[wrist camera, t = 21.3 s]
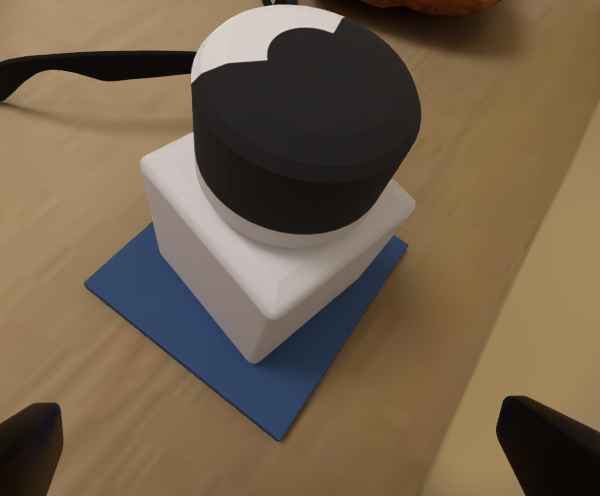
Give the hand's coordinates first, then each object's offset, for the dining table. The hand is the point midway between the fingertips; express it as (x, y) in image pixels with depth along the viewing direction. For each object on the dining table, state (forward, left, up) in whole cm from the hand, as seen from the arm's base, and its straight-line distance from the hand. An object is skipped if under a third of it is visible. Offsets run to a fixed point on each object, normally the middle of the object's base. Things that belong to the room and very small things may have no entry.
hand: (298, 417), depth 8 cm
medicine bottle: (+5, -6, -10) cm, 13 cm away
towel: (+5, -7, -11) cm, 13 cm away
